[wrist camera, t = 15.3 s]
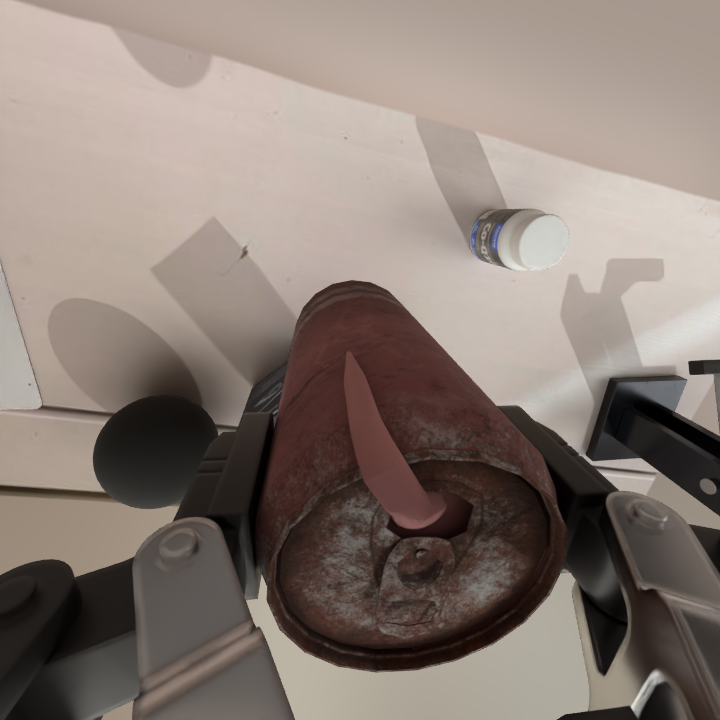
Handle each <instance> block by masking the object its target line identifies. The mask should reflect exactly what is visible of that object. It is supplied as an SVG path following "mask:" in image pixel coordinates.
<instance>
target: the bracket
mask: <svg viewBox="0 0 720 720" xmlns="http://www.w3.org/2000/svg"><path fill="white" fill-rule="evenodd" d="M686 382H687V379H684V378H682V377H680V376H657V377H632V378H610V380H609V383H608V386H607V389H606V392H605V396H604V399H603V402H602V405H601V409H600V412H599V415H598V418H597V421H596V425H595V428H594V431H593V434H592V438H591V441H590V444H589V447H588V450H587V454H586V456H587V457H588V458H590V459H591V460H592V461H602V460H616V459H631V458H642V459H643V460H645V461H646V462H647V463H649V464H650V465H651V466H653V467H654V468H655V469H657V470H658V471H659V472H661V473H662V474H664V475H665V476H666V477H668V478H669V479H670V480H672V481H673V482H674V483H676V484H677V485H679V486H680V487H681V488H682V489H684V490H685V491H686V492H688V493H689V494H691V495H692V496H693V497H695V498H696V499H697V500H699V501H700V502H701V503H703V504H704V505H705V506H707V507H708V508H709V509H711V510H712V511H713V512H715V513H716V514H718V515H719V516H720V436H718V435H716V434H714V433H713V432H711V431H709V430H707V429H705V428H703V427H702V426H700V425H698V424H696V423H694V422H692V421H691V420H689V419H687V418H685V417H683V416H681V415H680V414H678V413H676V412H675V409H676V407H677V404H678V402H679V399H680V397H681V394H682V392H683V390H684V387H685V385H686Z"/></svg>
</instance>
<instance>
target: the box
mask: <svg viewBox="0 0 720 720" xmlns="http://www.w3.org/2000/svg"><path fill="white" fill-rule="evenodd" d="M287 365H288V361H286V362H285V363H284V364H283V365H281V366H280V367H279V368H278V369H276V370H275V371H274V372H273V373H271V374H270V375H269V376H267V377H266V378H265V379H264V380H262V381H261V382H260V383H259V384H257V385H256V386H255V387H253V388H252V390H251V393H250V396H249V398H248V401H247V404H246V407H245V409H244V412H243V414H244V413H255V412H272V413H273V417H274V428H275V423H276V418H277V413H278V408H279V403H280V399H281V394H282V389H283V384H284V379H285V375H286V370H287ZM242 417H243V415H242ZM242 417H241V419H242ZM240 422H241V420H240ZM239 425H240V423H239ZM238 427H239V426H238ZM237 430H238V429H237Z"/></svg>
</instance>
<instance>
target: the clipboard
mask: <svg viewBox="0 0 720 720" xmlns="http://www.w3.org/2000/svg"><path fill="white" fill-rule="evenodd" d="M29 383H30V384H31V385H29ZM41 406H42V400H41V397H40V393H39V390H38V387H37V383H36V380H35V377H34V373H33V370H32V366H31V363H30V360H29V356H28V353H27V350H26V346H25V343H24V340H23V336H22V333H21V330H20V326H19V323H18V320H17V316H16V313H15V310H14V306H13V303H12V300H11V296H10V293H9V289H8V286H7V283H6V279H5V276H4V273H3V269H2V266H1V263H0V410H12V409H38V408H40V407H41Z"/></svg>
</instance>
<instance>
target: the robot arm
mask: <svg viewBox="0 0 720 720" xmlns="http://www.w3.org/2000/svg"><path fill="white" fill-rule="evenodd" d="M497 407H498V408H499V409H500V410H501V411H502V412H503V413H504V414H505V416H506V417H507V418H508V419H509V420H510V421H511V422H512V423H513V424H514V425H515V426H516V427H517V428H518V429H519V431H520V432H521V433H522V434H523V435H524V436H525V437H526V438H527V439H528V440H529V441H530V442H531V443H532V444H533V446H534V447H535V448H536V449H537V450H538V451H539V452H540V453H541V454H542V456H543V458H544V461H545V463H546V466H547V468H548V471H549V473H550V476H551V478H552V481H553V483H554V486H555V489H556V495H557V502H558V508H559V511H560V513H561V516H562V518H563V521H564V523H565V526H566V528H567V531H568V532H567V545H566V559H565V565H564V567H563V569H562V571H561V573H572V575H573V577H574V578H575V579H576V580H575V583H574V585H573V589H572V598H573V603H574V608H575V613H576V618H577V624H578V629H579V634H580V639H581V644H582V649H583V654H584V660H585V665H586V670H587V675H588V681H589V690H590V700H589V709H588V711H587V712H581V713H573V714H566V715H564V716H562V717H560V718H559V719H557V720H720V530H718V529H712V528H706V527H701V526H696V525H690V524H688V523H687V522H686V521H685V520H684V519H683V518H682V517H681V516H680V515H679V514H678V513H676V512H675V511H674V510H672V509H671V508H669V507H668V506H666V505H664V504H663V503H661V502H659V501H657V500H655V499H653V498H650V497H648V496H645V495H642V494H638V493H634V492H629V491H619V490H618V489H617V488H616V487H615V486H614V485H613V484H611V483H610V482H609V481H608V480H607V479H606V478H605V477H604V476H603V475H602V474H600V473H599V472H598V471H597V470H596V469H595V468H594V467H593V466H592V465H591V464H590V463H588V462H587V461H586V460H585V459H584V458H583V457H582V456H579V455H578V454H579V453H577V452H576V451H575V450H574V449H573V448H572V447H571V446H568V445H567V444H568V443H567V442H565V441H564V440H563V439H562V438H561V437H560V436H559V435H558V434H557V433H556V432H554V431H553V430H551V429H549V428H547V427H545V426H544V425H542V424H540V423H538V422H535V421H534V420H533V419H532V418H531V417H530V416H529V415H528V414H527V413H526V412H525V411H524V410H523V409H522V408H520V407H519V406H516V405H514V406H497ZM273 432H274V417H273V413H272V412H255V413H244V414H243V417H242V419H241V422H240V425H239V427H238V430H237V432H223V433H221V434H220V435H219V436H218V437H217V438H216V439H215V440H213V441H212V442H211V443H210V444H209V446H208V448H207V450H206V452H205V454H204V456H203V461H201V463H200V465H199V467H198V469H197V474H195V475H194V478H193V480H192V482H191V484H190V486H189V488H188V490H187V492H186V495H185V497H184V499H183V501H182V503H181V505H180V507H179V509H178V512H177V514H176V516H175V518H174V520H173V522H172V523H169V524H167V525H165V526H164V527H162V528H160V529H158V530H157V531H156V532H154V533H153V534H152V535H150V536H149V537H148V538H147V539H146V541H144V542H143V544H142V545H141V546H140V548H139V549H138V551H137V553H136V555H135V557H133V558H130V559H128V560H126V561H124V562H121V563H118V564H114V565H112V566H109V567H106V568H102V569H99V570H96V571H93V572H90V573H87V574H84V575H81V576H78V577H75V576H74V574H73V571H72V569H71V567H70V566H69V565H68V564H66V563H65V562H63V561H60V560H53V559H51V560H41V561H35V562H31V563H28V564H24V565H22V566H19V567H17V568H14V569H12V570H10V571H8V572H6V573H4V574H2V575H0V720H101V719H102V717H103V715H104V714H106V713H108V712H110V711H112V710H114V709H116V708H118V707H121V706H123V705H125V704H127V703H129V702H131V701H133V700H134V703H133V712H132V720H295V718H294V715H293V713H292V710H291V707H290V704H289V702H288V699H287V696H286V694H285V690H284V688H283V685H282V682H281V679H280V677H279V674H278V671H277V668H276V665H275V663H274V660H273V657H272V655H271V652H270V649H269V646H268V644H267V641H266V639H265V636H264V634H263V632H262V630H261V628H260V627H257V628H256V626H255V624H254V622H253V619H252V617H251V614H250V611H249V608H248V605H247V602H246V600H251V599H258V593H259V587H260V580H261V574H262V573H261V571H260V568H259V566H258V564H257V561H256V550H255V521H256V514H257V510H258V505H259V500H260V495H261V490H262V485H263V481H264V476H265V471H266V466H267V461H268V457H269V452H270V447H271V442H272V437H273Z"/></svg>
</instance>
